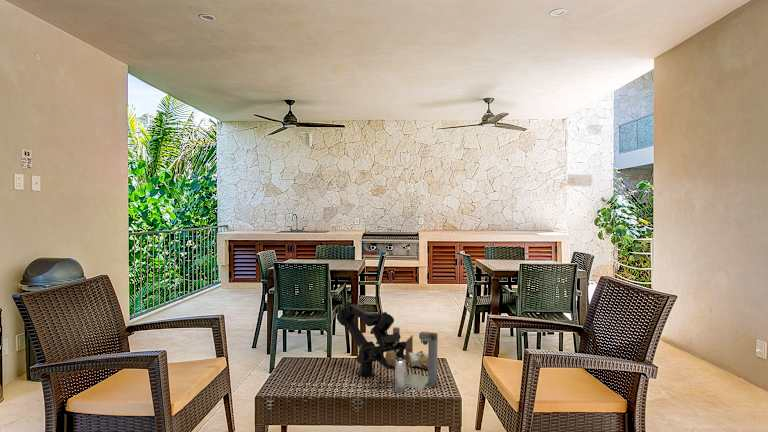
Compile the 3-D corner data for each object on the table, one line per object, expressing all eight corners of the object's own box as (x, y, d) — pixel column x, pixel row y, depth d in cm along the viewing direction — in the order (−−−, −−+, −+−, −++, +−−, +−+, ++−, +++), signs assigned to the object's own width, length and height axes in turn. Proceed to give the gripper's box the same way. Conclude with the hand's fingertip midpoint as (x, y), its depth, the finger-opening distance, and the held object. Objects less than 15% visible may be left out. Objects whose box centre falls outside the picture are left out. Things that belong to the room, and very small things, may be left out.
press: (394, 388, 202) (394, 336, 203) (409, 376, 219) (410, 327, 220) (427, 394, 196) (427, 340, 196) (440, 381, 213) (440, 331, 213)
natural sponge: (397, 370, 228) (398, 350, 228) (382, 368, 231) (382, 348, 232) (404, 365, 236) (405, 346, 236) (389, 363, 240) (389, 344, 240)
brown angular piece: (412, 363, 240) (412, 329, 240) (392, 362, 241) (392, 328, 242) (412, 361, 244) (412, 327, 244) (392, 360, 245) (393, 326, 246)
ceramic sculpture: (411, 346, 241) (439, 350, 236) (410, 362, 241) (438, 367, 236) (405, 351, 231) (434, 356, 226) (404, 368, 231) (433, 373, 226)
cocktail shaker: (392, 389, 201) (392, 357, 202) (401, 387, 204) (401, 355, 204) (398, 392, 197) (398, 360, 197) (407, 390, 200) (407, 358, 200)
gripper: (372, 329, 202) (387, 359, 193) (404, 324, 213) (420, 352, 204) (362, 343, 208) (376, 373, 199) (394, 337, 219) (408, 366, 210)
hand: (396, 366), depth 203 cm, fingers open, 9 cm apart
